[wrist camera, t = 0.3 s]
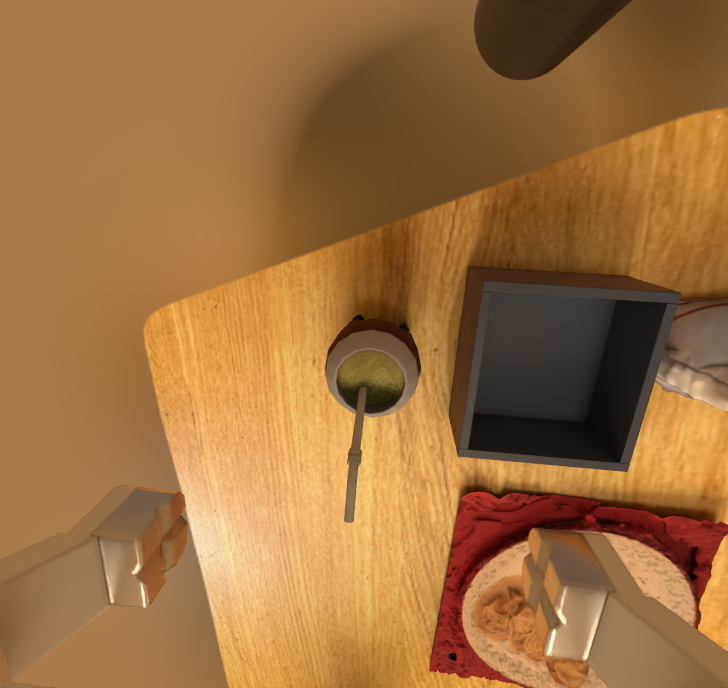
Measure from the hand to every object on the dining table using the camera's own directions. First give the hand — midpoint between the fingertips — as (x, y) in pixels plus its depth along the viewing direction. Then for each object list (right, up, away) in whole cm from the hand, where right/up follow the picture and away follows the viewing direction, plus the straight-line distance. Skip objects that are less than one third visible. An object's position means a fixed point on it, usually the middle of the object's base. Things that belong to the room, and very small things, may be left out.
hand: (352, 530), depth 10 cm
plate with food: (+21, -22, +34) cm, 45 cm away
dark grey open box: (+14, +4, +25) cm, 29 cm away
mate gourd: (+1, +4, +26) cm, 27 cm away
